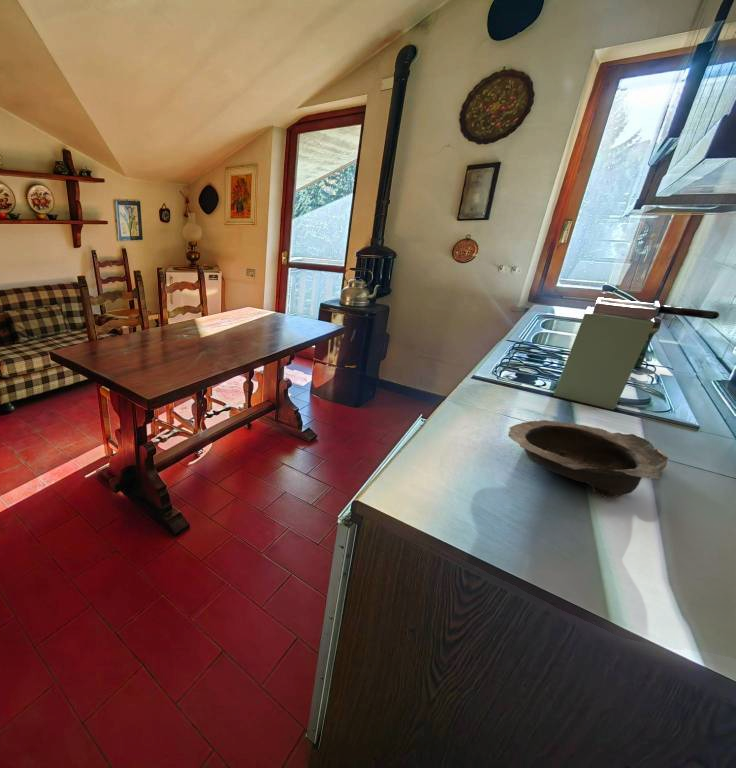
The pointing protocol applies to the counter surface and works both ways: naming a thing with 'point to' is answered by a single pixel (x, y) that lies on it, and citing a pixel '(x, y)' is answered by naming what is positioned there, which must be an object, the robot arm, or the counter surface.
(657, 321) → the coffee jar
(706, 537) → the counter surface
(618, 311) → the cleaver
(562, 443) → the stone bowl
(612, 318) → the sage green block
